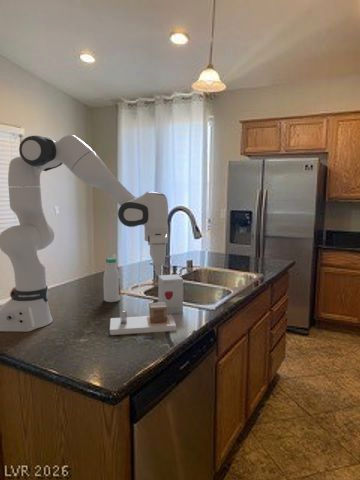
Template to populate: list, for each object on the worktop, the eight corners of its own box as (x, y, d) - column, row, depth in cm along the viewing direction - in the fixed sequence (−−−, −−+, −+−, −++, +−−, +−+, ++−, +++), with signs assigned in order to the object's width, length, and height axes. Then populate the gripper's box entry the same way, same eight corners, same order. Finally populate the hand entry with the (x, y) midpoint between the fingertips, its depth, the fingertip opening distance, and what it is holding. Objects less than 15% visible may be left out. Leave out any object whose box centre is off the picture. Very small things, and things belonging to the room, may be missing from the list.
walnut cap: (166, 322, 138) (166, 306, 137) (150, 323, 137) (150, 307, 137) (164, 316, 144) (164, 302, 143) (149, 317, 143) (149, 302, 142)
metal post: (120, 324, 137) (120, 312, 137) (120, 321, 140) (120, 310, 139) (127, 323, 138) (126, 312, 137) (126, 321, 140) (126, 310, 139)
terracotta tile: (148, 325, 136) (148, 324, 136) (146, 317, 144) (146, 317, 144) (169, 323, 138) (169, 323, 137) (167, 316, 145) (167, 315, 145)
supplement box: (162, 315, 153) (162, 280, 151) (157, 308, 161) (157, 275, 159) (183, 313, 155) (183, 278, 153) (178, 306, 164) (177, 273, 162)
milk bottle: (117, 303, 169) (115, 260, 167) (101, 302, 171) (99, 259, 168) (122, 298, 177) (121, 257, 174) (107, 297, 178) (106, 256, 176)
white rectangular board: (109, 335, 132) (109, 329, 132) (110, 323, 144) (110, 318, 144) (176, 330, 136) (176, 325, 136) (171, 319, 148) (171, 314, 148)
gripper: (146, 232, 146) (146, 266, 148) (150, 239, 126) (150, 278, 128) (161, 232, 147) (162, 266, 149) (168, 239, 127) (168, 278, 129)
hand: (156, 272), depth 138 cm, fingers open, 8 cm apart
